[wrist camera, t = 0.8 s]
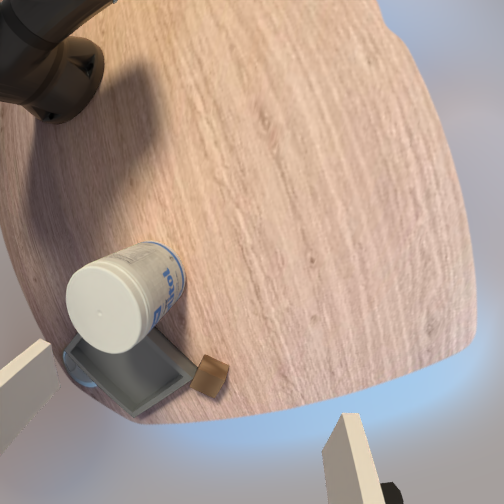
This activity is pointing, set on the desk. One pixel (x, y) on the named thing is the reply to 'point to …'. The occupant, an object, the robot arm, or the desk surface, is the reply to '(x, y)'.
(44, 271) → the desk surface
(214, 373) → the walnut block
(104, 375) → the tray
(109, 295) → the supplement tub
